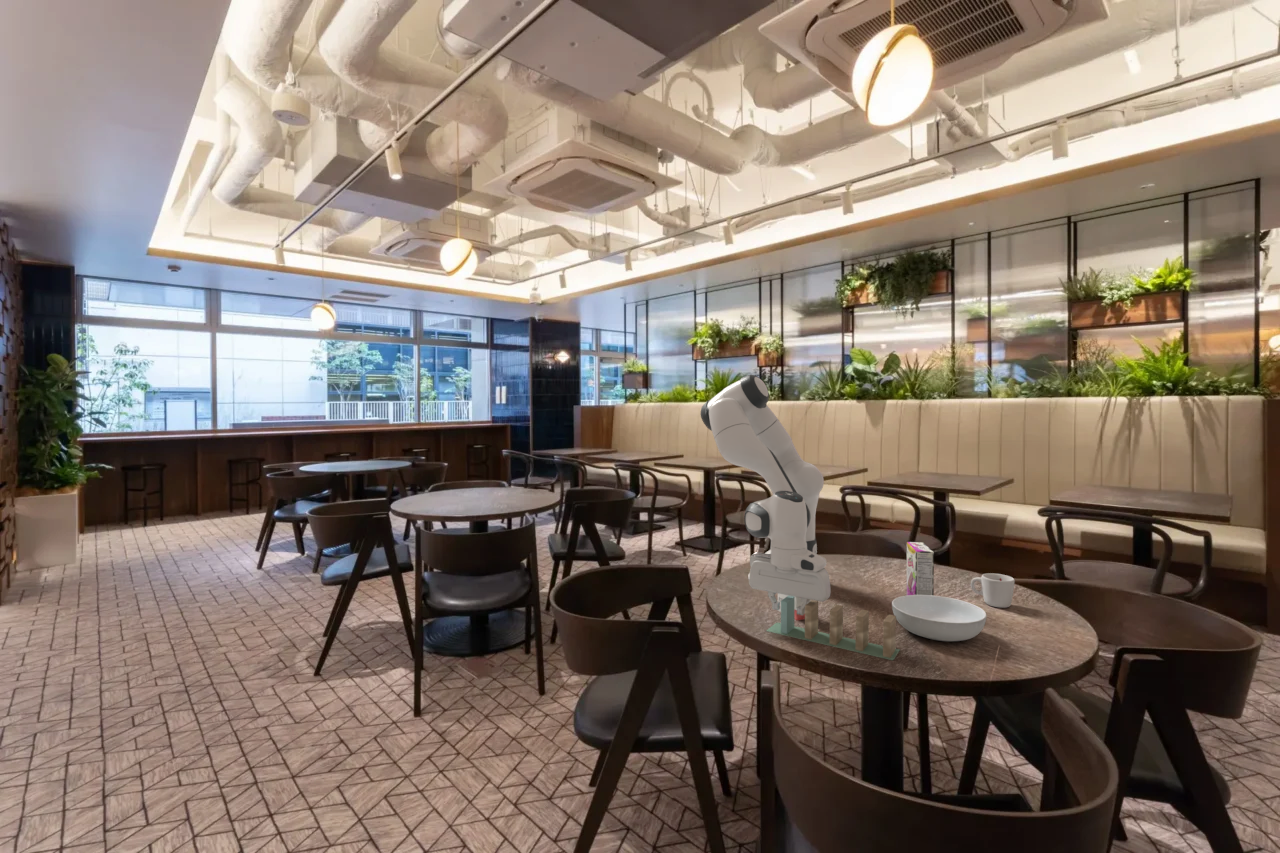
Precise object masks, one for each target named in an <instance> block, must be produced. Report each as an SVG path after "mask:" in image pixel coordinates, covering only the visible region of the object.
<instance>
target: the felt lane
mask: <svg viewBox="0 0 1280 853" xmlns="http://www.w3.org/2000/svg"><path fill="white" fill-rule="evenodd" d="M765 631H766V632H768V633H773V634H778V635H782V636H786V637H791V638H795V639H798V640H804V641H807V642H812V643H815V644H816V643H817V644H820V645H825V646H829V647H834V648H836V649H837V648H838V649H842V650H846V651H850V652H854V653H858V654H864V655H867V656H873V657H877V658H880V659H886V660H889V661H895V658H896V657H897V655H898V653H899V652H900V651H901V649H899V648H895V652H894V653H893V655H892V656H891V658H889V657H885V656H883V644H882V645H881V644H877V643H872V642H868V645H867V647H866V648H865V649H864V650H863V651H858V650H856V638H855V639H854V638H850V637H846V636H843V639H842V640H841V641H840V642H839V643H838V644H837V645H832V644H830V633H826V632H822V631H818V634H817V635H816V636H814V637H813V638H812V639H806V638H805V627H800V626H795V625H794V629H792V630H791V631H790V632H789V633H788V634H784V633H781V622H775V623H774V624H773V625H771V626H770V627H768V629H766V630H765Z"/></svg>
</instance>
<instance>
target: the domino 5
mask: <svg viewBox="0 0 1280 853" xmlns="http://www.w3.org/2000/svg"><path fill="white" fill-rule="evenodd" d="M882 622H883V624H882V626H883V627H882V646H883V656H885V657H889V658H891V656H892V655H893V653H894V652H895V649H896V647H897V646H896V641H897V640H896V639H897V638H896V634H897V627H896V626H897V619H896V616H894V614H887V616H886V617H885V618H884V619H883V621H882Z"/></svg>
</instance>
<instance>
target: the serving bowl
mask: <svg viewBox="0 0 1280 853" xmlns="http://www.w3.org/2000/svg"><path fill="white" fill-rule="evenodd" d="M906 595H907V594H906ZM906 595H902V596H898V597H896V598H894V599H893V600H892V601H891V609H892V612H893V615H894V616H896V622H898V623H899V625H900V626H901V627H903V628H904V629H905V630H906V631H908V632H910V633H911V634H913V635H916V636H919V637H923V638H926V639H928V640H929V639H930V640H934V641H940V642H960V641H961V642H962V641H966V640H967V641H968V640H970V639H972V638H973V639H974V638H975V637H976V636H978V634H980V633H981V632H982V630H984V627H985V625H986V622H987V613H986V611H985V610H984V609H983V608H981V607H980V606H977V605H975V604H973V603H970V602H968V601H965V600H961V599H958V598H953V597H948V596H940V595H907V596H906Z"/></svg>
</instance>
